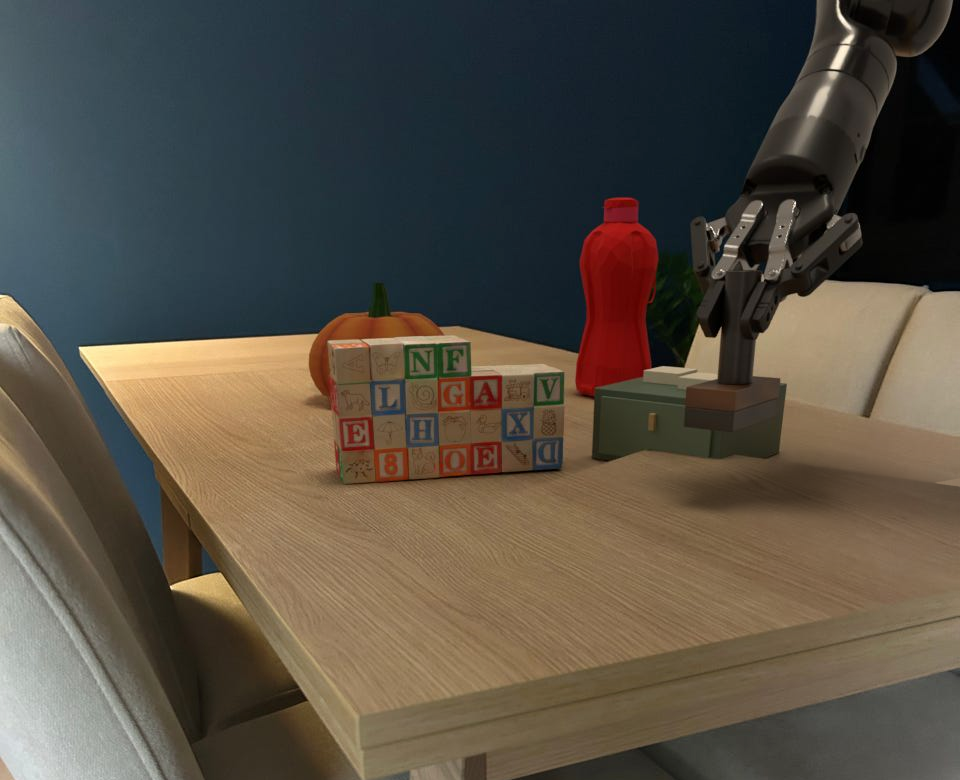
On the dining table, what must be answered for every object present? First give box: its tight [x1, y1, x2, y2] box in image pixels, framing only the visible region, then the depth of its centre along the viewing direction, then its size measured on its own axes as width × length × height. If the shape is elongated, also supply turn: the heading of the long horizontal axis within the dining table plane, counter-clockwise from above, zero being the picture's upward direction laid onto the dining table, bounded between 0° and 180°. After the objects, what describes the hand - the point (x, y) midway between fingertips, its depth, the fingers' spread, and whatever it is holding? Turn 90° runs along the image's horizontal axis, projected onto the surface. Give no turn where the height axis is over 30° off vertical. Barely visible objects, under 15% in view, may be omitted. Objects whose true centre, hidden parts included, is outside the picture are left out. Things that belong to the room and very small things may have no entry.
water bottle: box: [574, 197, 659, 398], centre depth 130 cm, size 9×11×25 cm
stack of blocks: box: [327, 334, 565, 485], centre depth 92 cm, size 21×6×12 cm, turn 104°
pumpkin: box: [308, 282, 446, 398], centre depth 129 cm, size 19×19×15 cm
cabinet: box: [591, 377, 788, 462], centre depth 98 cm, size 14×15×7 cm
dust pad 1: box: [643, 365, 698, 386], centre depth 99 cm, size 4×4×1 cm
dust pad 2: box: [678, 371, 718, 390], centre depth 95 cm, size 4×4×1 cm
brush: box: [684, 269, 781, 432], centre depth 73 cm, size 8×4×11 cm, turn 141°
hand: (727, 330), depth 71 cm, fingers closed on brush, 2 cm apart
